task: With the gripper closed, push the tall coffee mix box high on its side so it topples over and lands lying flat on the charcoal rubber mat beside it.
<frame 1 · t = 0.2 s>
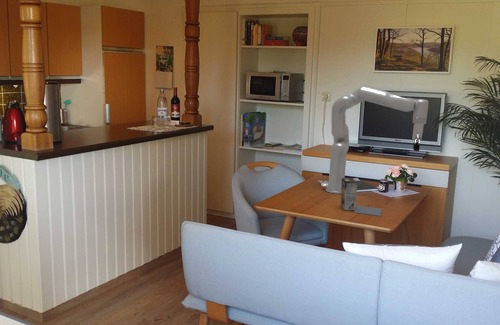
hand: (416, 149, 304), 31 cm above the table, tool pointing down, fingers open, 9 cm apart
coffee box: (348, 208, 287), on the table, touching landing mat
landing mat: (368, 211, 284), on the table
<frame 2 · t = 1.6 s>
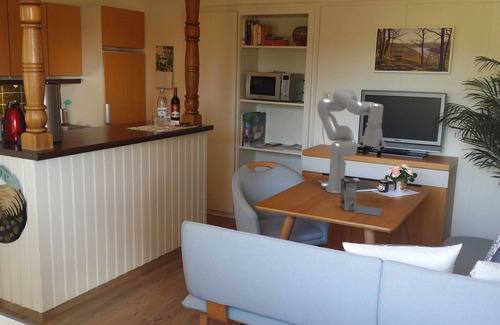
hand: (371, 155, 293), 28 cm above the table, tool pointing down, fingers open, 9 cm apart
nothing on the table moved.
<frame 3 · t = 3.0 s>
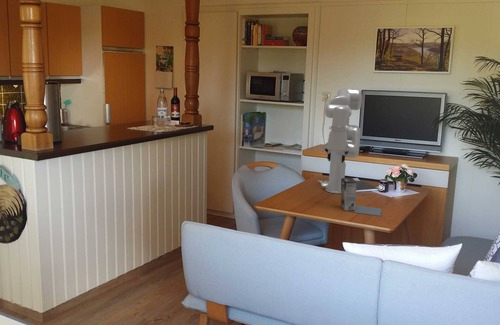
hand: (335, 161, 285), 26 cm above the table, tool pointing down, fingers open, 6 cm apart
nothing on the table moved.
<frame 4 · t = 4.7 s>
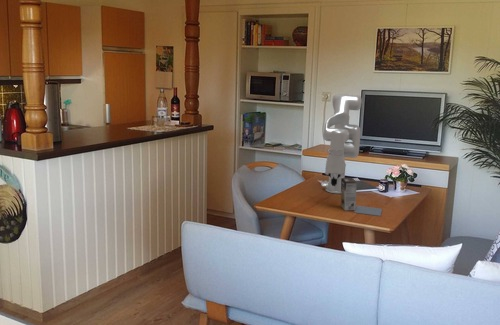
hand: (333, 185, 287), 12 cm above the table, tool pointing down, fingers closed
nothing on the table moved.
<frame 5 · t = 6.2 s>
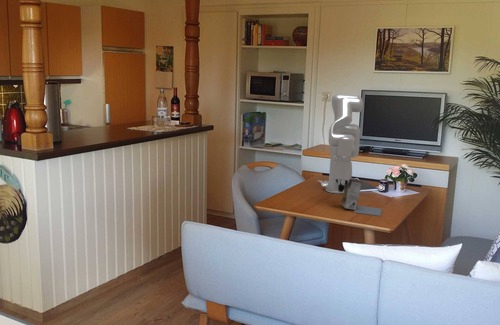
hand: (340, 191, 287), 9 cm above the table, tool pointing down, fingers closed
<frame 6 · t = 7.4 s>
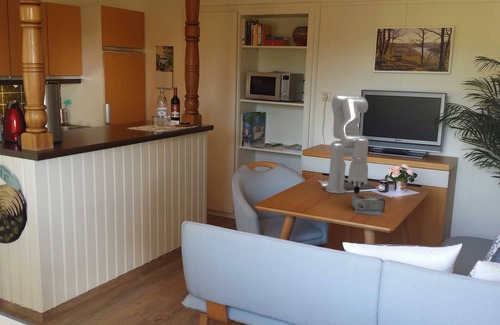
hand: (356, 193, 284), 9 cm above the table, tool pointing down, fingers closed
coffee box: (353, 202, 287), point 4 cm above the table, touching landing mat
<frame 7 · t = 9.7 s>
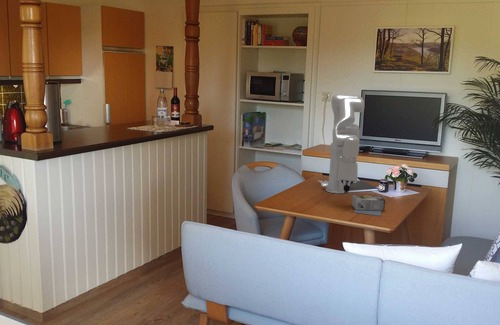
hand: (346, 192, 286), 9 cm above the table, tool pointing down, fingers closed
nothing on the table moved.
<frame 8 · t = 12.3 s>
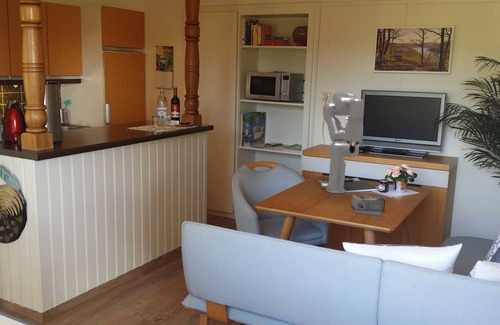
hand: (351, 152, 294), 29 cm above the table, tool pointing down, fingers closed
nothing on the table moved.
at the end: coffee box tilted 90°; coffee box touching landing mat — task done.
